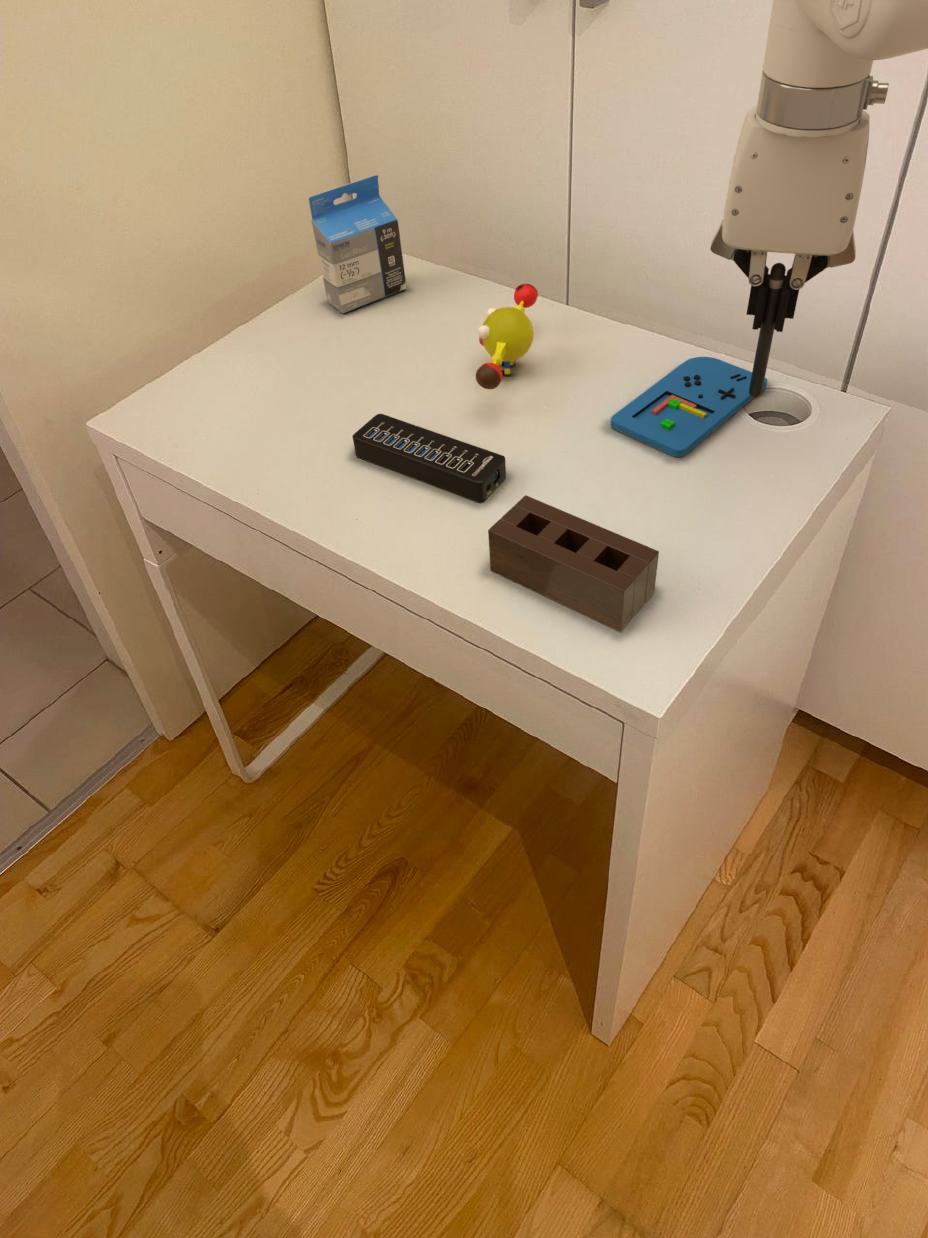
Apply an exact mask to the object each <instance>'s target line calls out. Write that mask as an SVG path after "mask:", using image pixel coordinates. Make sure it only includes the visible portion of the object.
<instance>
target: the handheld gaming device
mask: <svg viewBox="0 0 928 1238" xmlns="http://www.w3.org/2000/svg"><path fill="white" fill-rule="evenodd" d="M751 376H752V371H750V370H748V369H744V368H742V367H740V366H737V365H735V364H732V363H729V362H727V361H724V360H722V359H719V358H716V357H711V356H696V357H691V358H689V359H686V360H684V361H683V362H682V363H680V364H679V365H678V366H677V367H675V368H674V369H673V370H671V371H670V372H668V374H666V375H665V376H663V377H662V378H661V379H659V380H658V381H657V382H655V383H654V384H652V386H650V387H648V389H646V390H645V391H643V392H642V393H641V394H640V395H638V396H637V397H636V398H634V399H633V400H631V401H630V402H629V403H627V404H626V405H625V406H624V407H622V408H621V409H620V410H618V411H617V412H615V413H614V414H613V415H612V416H611V417H610V427H611V428H612V429H614V430H616V431H618V432H620V433H623V434H625V435H626V436H628V437H631V438H633V439H635V440H637V441H640V442H642V443H643V444H646V445H648V446H651V447H653V448H655V449H657V450H660V451H662V452H664V453H666V454H668V455H670V456H672V457H676V458H681V457H684V456H686V455H687V454H689V453H690V452H691V451H692V450H694V448H695V447H697V446H698V445H700V444H701V443H702V442H703V441H704V440H705V439H706V438H707V437H709V436H710V435H711V434H712V433H714V432H715V431H716V430H717V429H718V428H719V427H721V426H722V425H723V424H725V422H727V421H728V420H729V419H730V418H732V416H734V415H735V414H736V413H737V412H739V411H740V410H741V409H742V408H743V407H744V406H746V405H747V404H749V402H751V401H752V400H753V399H755V397H752V396H750V394H749V387H750V382H751ZM767 385H768V378H767V377H765V379H764V384H763V390H762V392H763V391H764V390H765V389H766V388H767Z"/></svg>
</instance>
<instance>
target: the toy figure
mask: <svg viewBox="0 0 928 1238" xmlns="http://www.w3.org/2000/svg"><path fill="white" fill-rule="evenodd" d="M538 297H539V292H538V290H537V288H536V287H535V286H534V285H532V284H531V283H522V284H519V285H518V286H516V288H515V289H514V293H513V300H514V302H515V304H516V305H515V307H512V306H503V307H500V308H497V307H490V308H488V309H487V311H486V318H485V320H484V322H483V324H482V325H480V326H479V327H478V330H477V335H478V337H479V338H478V342H479V344H480V345H481V346H482V347H484V350H485V351H486V352H487V353H488V354H489V355H490V356H491V357H490V358H491V359H490V361H491V362H486V363H483V364H482V365H480V366H479V367H478V369H477V370H476V372H475V380H476V382H477V384H478V386H479V387H482V389H485V390H494V389H496V388H497V387H499V385H500V384H501V383H502V380H503V377H511V376H512V373H511V369H512V368H513V367H515V366H516V364H517V362H516V360H519V359H520V358H522V357H524V356H525V355H526V354H527V353H528V351H529V350H530V348H531V347H532V344H533V341H534V334H535V333H534V326H533V323H532V321H531V320H530V318H529V316H528V315H527V314H526V312H525V309H527V308H531V307H533V306H534V305H535V303H536V302H537V299H538ZM500 365H501V367H503V369H502V368H501V367H500Z"/></svg>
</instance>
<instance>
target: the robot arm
mask: <svg viewBox="0 0 928 1238" xmlns="http://www.w3.org/2000/svg"><path fill="white" fill-rule="evenodd" d="M769 19H770V20H769V26H768V32H767V39H766V45H765V51H764V58H763V64H762V72H761V78H760V86H759V92H758V99H757V104H756V105H754V106H752V107H750V108H749V109H748V110H747V111H746V114H745V117H744V119H743V123H742V125H741V129H740V132H739V135H738V139H737V143H736V147H735V151H734V156H733V160H732V166H731V171H730V176H729V181H728V188H727V193H726V199H725V203H724V204H725V205H724V210H723V219H722V220H721V222H720V224H719V226H718V228H717V230H716V232H715V234H714V235H713V238H712V241H711V245H710V252H711V253H712V254H714V255H716V256H719V257H721V258H724V259H726V260H727V261H733V262H734V264H735V265H736V266H737V267H738V268H739V270H740V271H742V273H743V274H744V276H746V277H747V279H748V283H749V285H750V290H749V297H748V303H747V309H746V315H747V316H754V317H753V322H752V328H751V329H752V330H755V331H756V330H757V331H758V330H759V329H760V328H761V324H762V319H763V313H764V308H765V302H766V297H767V291H768V285H769V277H770V273H769V270H770V269H769V267H768V266H767V260H768V259H767V258H768V253H777V254H789V255H790V254H791V255H794V258H793V261H792V264H791V268H789V269H787V270H786V271H787V272H786V274H785V277H784V283H783V286H782V291H781V296H780V301H779V306H778V311H777V316H776V322H775V328H774V331H776V332H778V333H783V330H784V325H785V320H786V319H792V320H794V316H795V313H796V308H797V303H798V297H799V293H800V290H801V289H803V288H804V286H805V284H806V283H808V282H809V281H810V280H811V279H813V278H815V277H816V276H817V275H819V274H821V273H822V272H823V271H825V270H826V269H827V268H828V269H829V268H836V267H841V266H845V265H846V266H847V265H850V264H852V263H854V262H855V260H856V254H857V253H856V252H857V247H856V240H855V233H854V228H855V223H856V218H857V214H858V208H859V204H860V199H861V193H862V187H863V182H864V181H863V180H864V176H865V171H866V170H865V169H866V164H867V155H868V149H869V142H870V126H871V125H870V114H869V113H868V112H867V109H868V106H874V104H880V105H884V104H885V103H886V100H887V95H888V91H889V84H890V83H889V82H879V80H874V76H873V75H871V73H872V67H873V64H874V61H882V60H889V59H892V58H896V57H901V56H904V55H908V54H909V55H910V54H912V53H916V52H920V51H923V50H928V0H772V6H771V13H770V18H769ZM865 110H866V111H865Z"/></svg>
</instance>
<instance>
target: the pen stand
mask: <svg viewBox="0 0 928 1238" xmlns="http://www.w3.org/2000/svg"><path fill="white" fill-rule="evenodd" d="M487 535H488V548H489V549H488V551H489V566H490V567H489V568H490V571H491V572H493V573H495V574H497V575H499V576H500V577H502V578H505V579H507V580H509V581H511V582H513V583H515V584H518V585H520V586H522V587H524V588H526V589H528V590H531V591H532V592H535V593H537V594H538V595H541V596H543V597H545V598H548V599H549V600H552V601H553V602H555V603H557V604H560V605H562V606H564V607H566V608H568V609H570V610H572V611H575V612H576V613H579V614H581V615H582V616H585V617H587V618H590V619H591V620H593V621H595V622H598V623H600V624H602V625H604V626H606V627H608V628H610V629H612V630H614V631H617V632H619V633H622V632H623V631H624V629H625V628H626V627H627V626H628V624H630V622H631V621H632V620H633V619H634V617H636V616H637V614H638V613H639V612H640V611H641V610H642V608H643V607H644V606H645V604H646V603H647V602H648V601H649V600H650V599H651V597H652V596H653V595H654V594H655V591H656V582H657V581H656V580H657V575H658V563H659V557H660V556H659V555H660V551H658V550H657V549H654V548H652V547H649V546H647V545H645V544H643V543H640V542H638V541H635V540H633V539H630V538H628V537H626V536H623V535H621V534H619V533H616V532H614V531H612V530H609V529H607V528H604V527H602V526H600V525H598V524H596V523H593V522H591V521H588V520H586V519H583V518H581V517H579V516H576V515H574V514H571V513H569V512H567V511H564V510H562V509H560V508H557V507H554V506H553V505H551V504H548V503H545V502H543V501H541V500H539V499H536V498H534V497H532V496H529V495H526V494H525V495H524V496H523V497H522V498H521V499H520V500H518V501H517V502H516V503H515V504H514V505H513V506H512V507H511V508H510V509H509V510H508V511H507V512H506V513H505V514H504V515H502V517H500V518H499V519H498V520H497V521H496V522H495V523H494V524H493V525H491V527H490V528H489V529H488V530H487Z"/></svg>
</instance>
